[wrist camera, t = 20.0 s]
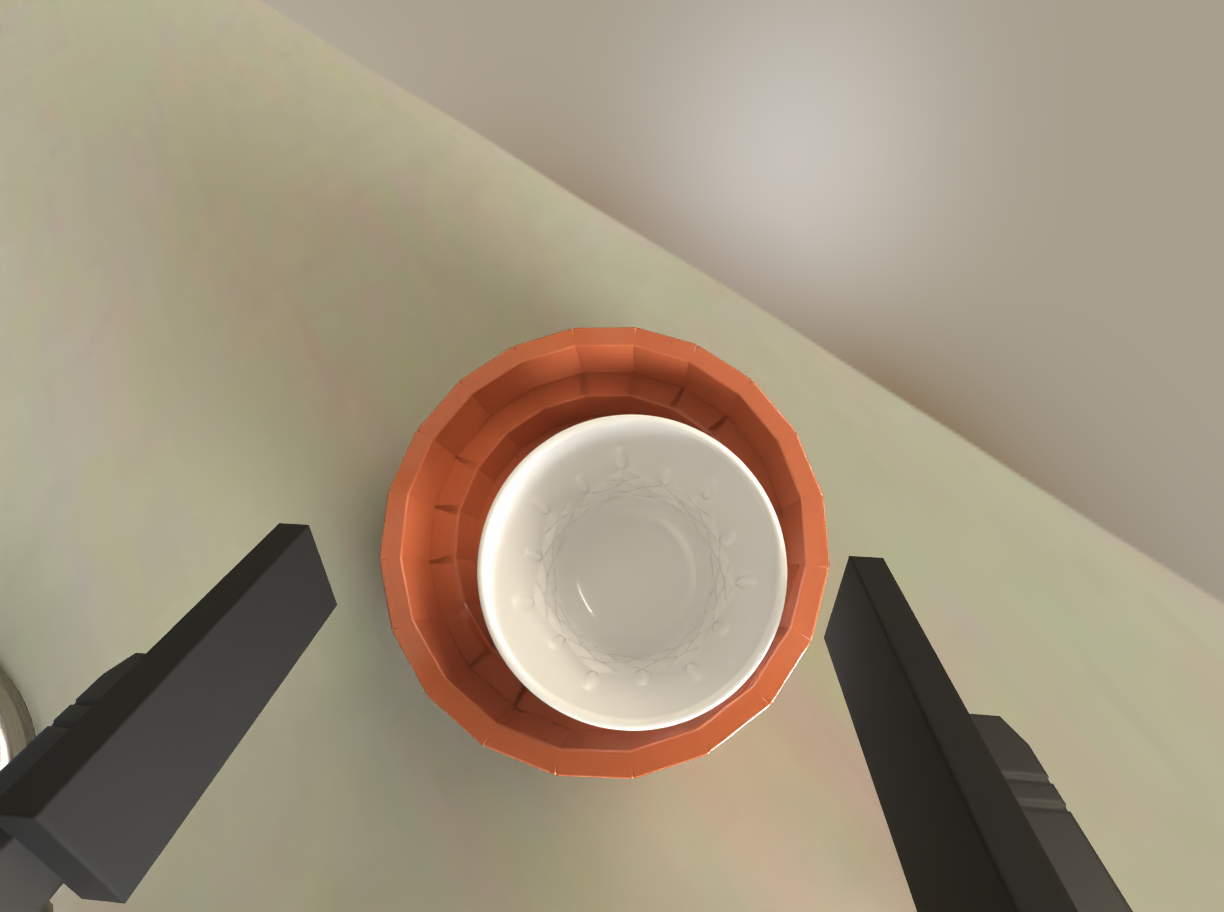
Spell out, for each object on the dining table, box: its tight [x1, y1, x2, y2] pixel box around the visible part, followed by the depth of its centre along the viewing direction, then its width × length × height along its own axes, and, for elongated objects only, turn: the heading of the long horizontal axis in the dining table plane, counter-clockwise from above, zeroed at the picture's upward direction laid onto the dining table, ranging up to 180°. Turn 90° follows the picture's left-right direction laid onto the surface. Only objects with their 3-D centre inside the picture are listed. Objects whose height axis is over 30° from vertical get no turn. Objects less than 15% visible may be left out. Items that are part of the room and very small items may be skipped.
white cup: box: [477, 414, 787, 731], centre depth 18 cm, size 8×8×10 cm
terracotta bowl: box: [380, 327, 830, 779], centre depth 21 cm, size 16×16×6 cm
